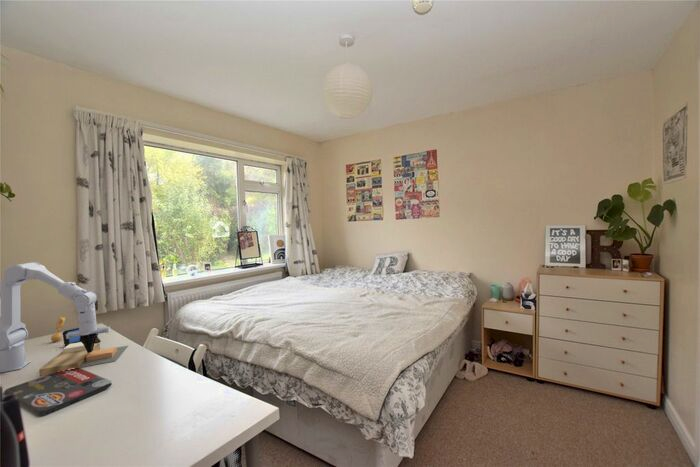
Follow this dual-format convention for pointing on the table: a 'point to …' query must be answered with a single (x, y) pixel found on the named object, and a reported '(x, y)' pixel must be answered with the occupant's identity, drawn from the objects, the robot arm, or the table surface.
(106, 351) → the orange rectangular block
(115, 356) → the mat
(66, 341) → the handheld game console
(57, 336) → the figurine
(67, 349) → the cream rectangular block
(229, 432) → the table surface
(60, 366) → the deck
